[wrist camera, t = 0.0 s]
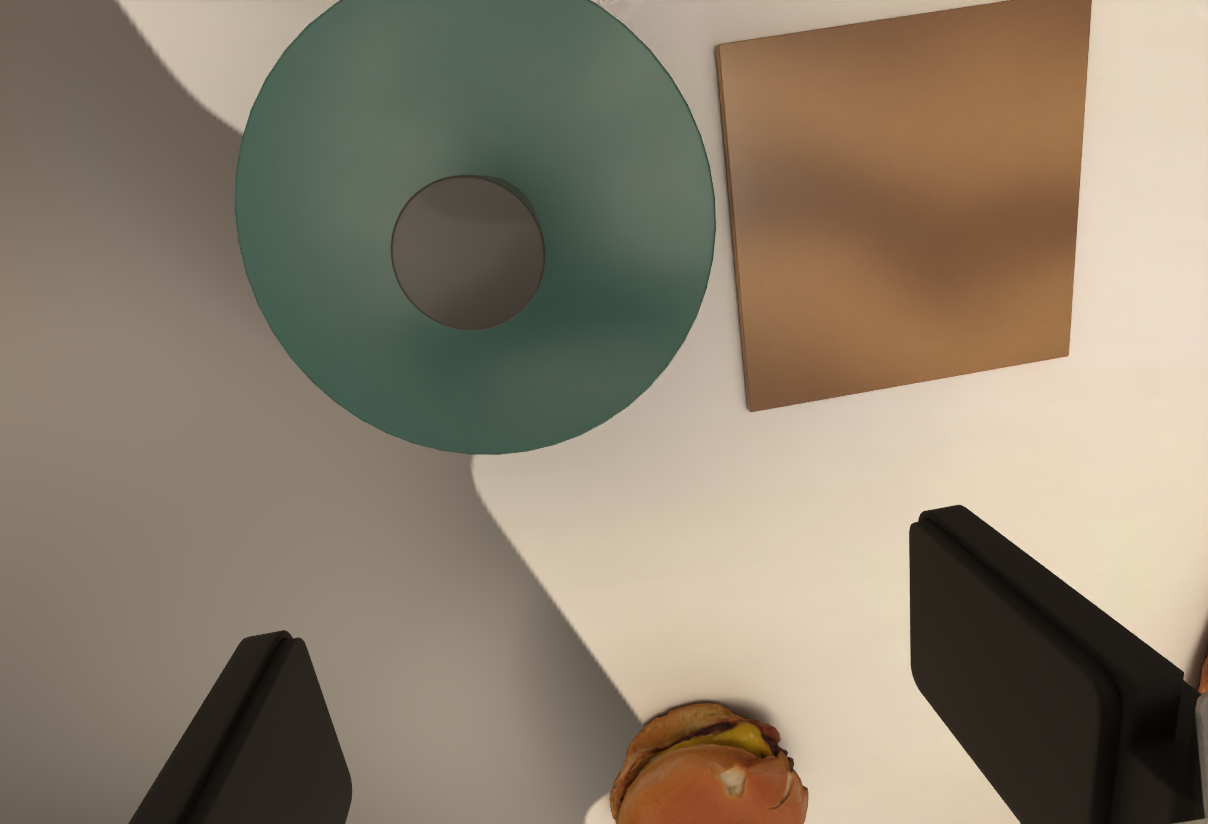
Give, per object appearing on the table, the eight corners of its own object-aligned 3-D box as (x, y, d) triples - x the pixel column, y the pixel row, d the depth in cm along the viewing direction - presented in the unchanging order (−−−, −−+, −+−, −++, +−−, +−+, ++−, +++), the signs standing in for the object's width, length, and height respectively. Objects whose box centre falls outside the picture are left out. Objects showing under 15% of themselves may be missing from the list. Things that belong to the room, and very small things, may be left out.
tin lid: (183, 14, 19) (6, -70, 12) (680, -57, 20) (755, -172, 13) (322, 474, 23) (244, 588, 17) (726, 404, 24) (799, 487, 17)
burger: (627, 855, 40) (640, 938, 36) (593, 724, 37) (602, 798, 33) (796, 812, 40) (830, 889, 36) (776, 679, 38) (810, 746, 33)
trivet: (714, 46, 28) (718, 44, 27) (1083, -10, 28) (1093, -13, 28) (747, 409, 33) (750, 412, 32) (1061, 353, 33) (1069, 356, 33)
